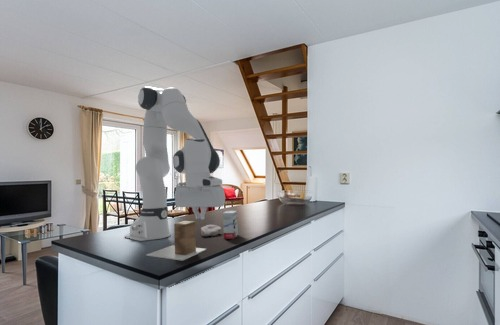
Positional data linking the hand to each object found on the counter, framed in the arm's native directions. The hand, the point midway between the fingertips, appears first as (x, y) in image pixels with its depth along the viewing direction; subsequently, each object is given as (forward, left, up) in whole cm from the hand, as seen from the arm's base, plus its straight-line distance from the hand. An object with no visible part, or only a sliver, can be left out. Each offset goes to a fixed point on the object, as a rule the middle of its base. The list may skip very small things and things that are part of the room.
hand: (200, 219), depth 100 cm
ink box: (-4, +29, -13) cm, 32 cm away
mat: (-11, 0, -13) cm, 17 cm away
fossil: (-16, +30, -13) cm, 36 cm away
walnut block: (-7, 0, -13) cm, 15 cm away
